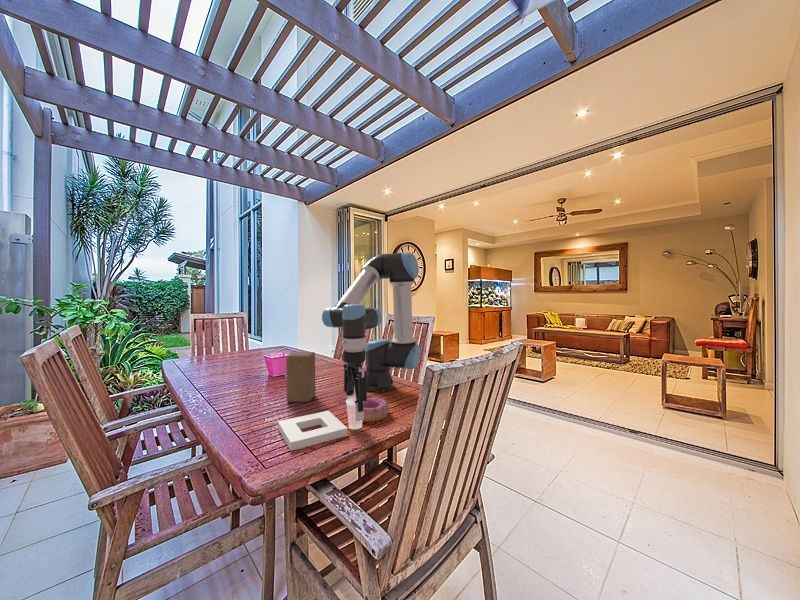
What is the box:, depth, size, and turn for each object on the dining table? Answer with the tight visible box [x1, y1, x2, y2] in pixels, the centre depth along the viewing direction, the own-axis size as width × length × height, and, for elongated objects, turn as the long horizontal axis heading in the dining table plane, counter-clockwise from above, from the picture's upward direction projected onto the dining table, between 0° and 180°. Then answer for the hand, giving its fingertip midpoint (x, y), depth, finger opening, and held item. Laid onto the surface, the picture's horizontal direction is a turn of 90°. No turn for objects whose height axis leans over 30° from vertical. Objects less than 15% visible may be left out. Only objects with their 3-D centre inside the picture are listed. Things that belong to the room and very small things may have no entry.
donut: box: [362, 397, 390, 423], centre depth 119 cm, size 14×14×5 cm
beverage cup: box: [345, 387, 364, 430], centre depth 107 cm, size 6×6×14 cm
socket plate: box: [277, 410, 348, 451], centre depth 105 cm, size 18×18×2 cm
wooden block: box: [285, 351, 316, 403], centre depth 138 cm, size 10×10×20 cm
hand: (355, 416), depth 107 cm, fingers closed on beverage cup, 6 cm apart
